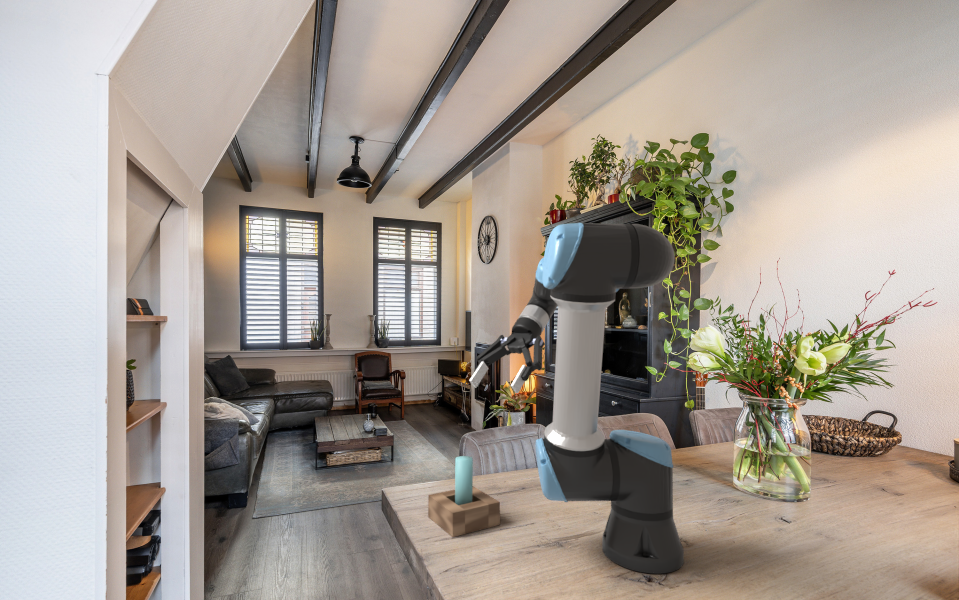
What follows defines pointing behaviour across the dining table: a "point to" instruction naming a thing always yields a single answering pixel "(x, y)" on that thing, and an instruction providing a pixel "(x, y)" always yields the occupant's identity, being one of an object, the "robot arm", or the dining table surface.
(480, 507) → the socket block
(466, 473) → the dowel
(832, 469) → the dining table surface
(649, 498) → the robot arm
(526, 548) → the dining table surface
